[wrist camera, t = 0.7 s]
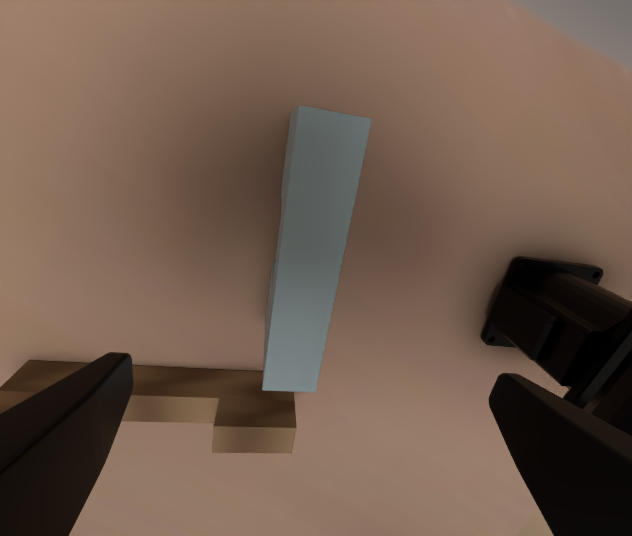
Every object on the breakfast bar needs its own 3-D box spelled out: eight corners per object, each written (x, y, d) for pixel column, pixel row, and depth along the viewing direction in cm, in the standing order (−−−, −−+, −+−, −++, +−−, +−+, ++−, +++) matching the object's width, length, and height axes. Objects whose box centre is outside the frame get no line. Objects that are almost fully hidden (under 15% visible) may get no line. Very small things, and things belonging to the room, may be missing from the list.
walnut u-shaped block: (292, 373, 22) (296, 428, 18) (288, 395, 23) (291, 453, 19) (28, 360, 20) (-36, 421, 16) (34, 386, 20) (-26, 451, 16)
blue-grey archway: (339, 121, 17) (371, 118, 11) (304, 323, 21) (315, 392, 16) (290, 112, 16) (299, 105, 11) (265, 320, 21) (262, 390, 15)
